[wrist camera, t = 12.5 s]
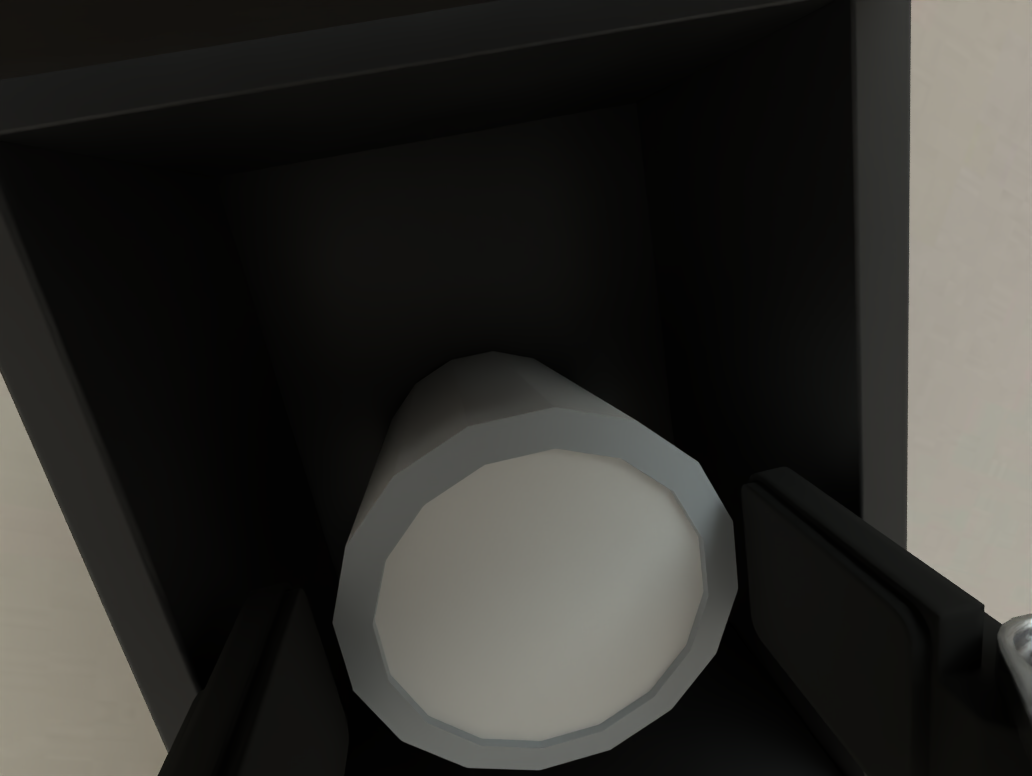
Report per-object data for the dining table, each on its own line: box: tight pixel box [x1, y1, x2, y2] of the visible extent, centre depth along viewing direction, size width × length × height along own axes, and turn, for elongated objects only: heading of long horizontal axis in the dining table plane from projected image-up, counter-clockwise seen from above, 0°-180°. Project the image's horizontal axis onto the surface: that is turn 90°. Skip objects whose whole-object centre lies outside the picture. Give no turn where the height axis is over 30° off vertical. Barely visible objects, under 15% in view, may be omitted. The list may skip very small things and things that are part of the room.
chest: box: [0, 0, 911, 776], centre depth 13 cm, size 15×12×9 cm
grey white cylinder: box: [332, 351, 738, 770], centre depth 14 cm, size 7×7×7 cm
